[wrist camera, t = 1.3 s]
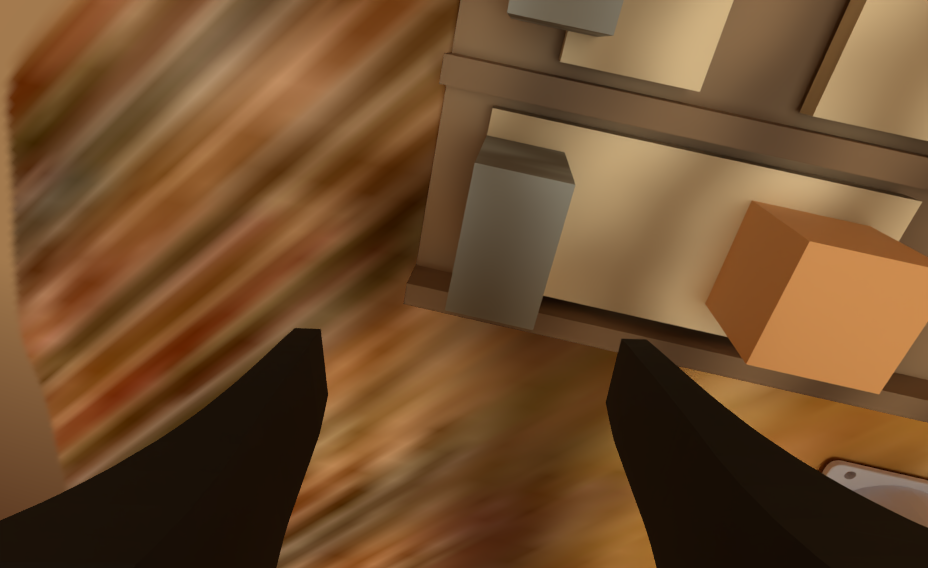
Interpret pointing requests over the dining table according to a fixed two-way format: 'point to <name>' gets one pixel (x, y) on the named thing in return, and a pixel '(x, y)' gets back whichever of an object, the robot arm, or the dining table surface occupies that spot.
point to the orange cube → (820, 297)
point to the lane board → (694, 128)
